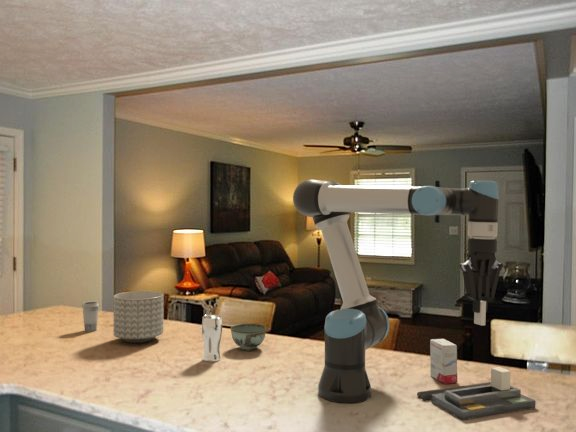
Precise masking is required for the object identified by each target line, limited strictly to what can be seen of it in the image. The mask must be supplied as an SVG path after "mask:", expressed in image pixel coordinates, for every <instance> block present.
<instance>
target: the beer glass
mask: <svg viewBox="0 0 576 432" xmlns="http://www.w3.org/2000/svg"><path fill="white" fill-rule="evenodd" d="M222 323H223V321H222V316H221V315H219V314H205V315H203V316H202V322H201V337H202V342H203V355H202V356H203V357H202V360H203V361H204V362H206V363H215V362H218V361H220V360H221V359H222V357H221V352H220V345H221V340H222V335H223V334H222V333H223V324H222Z"/></svg>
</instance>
